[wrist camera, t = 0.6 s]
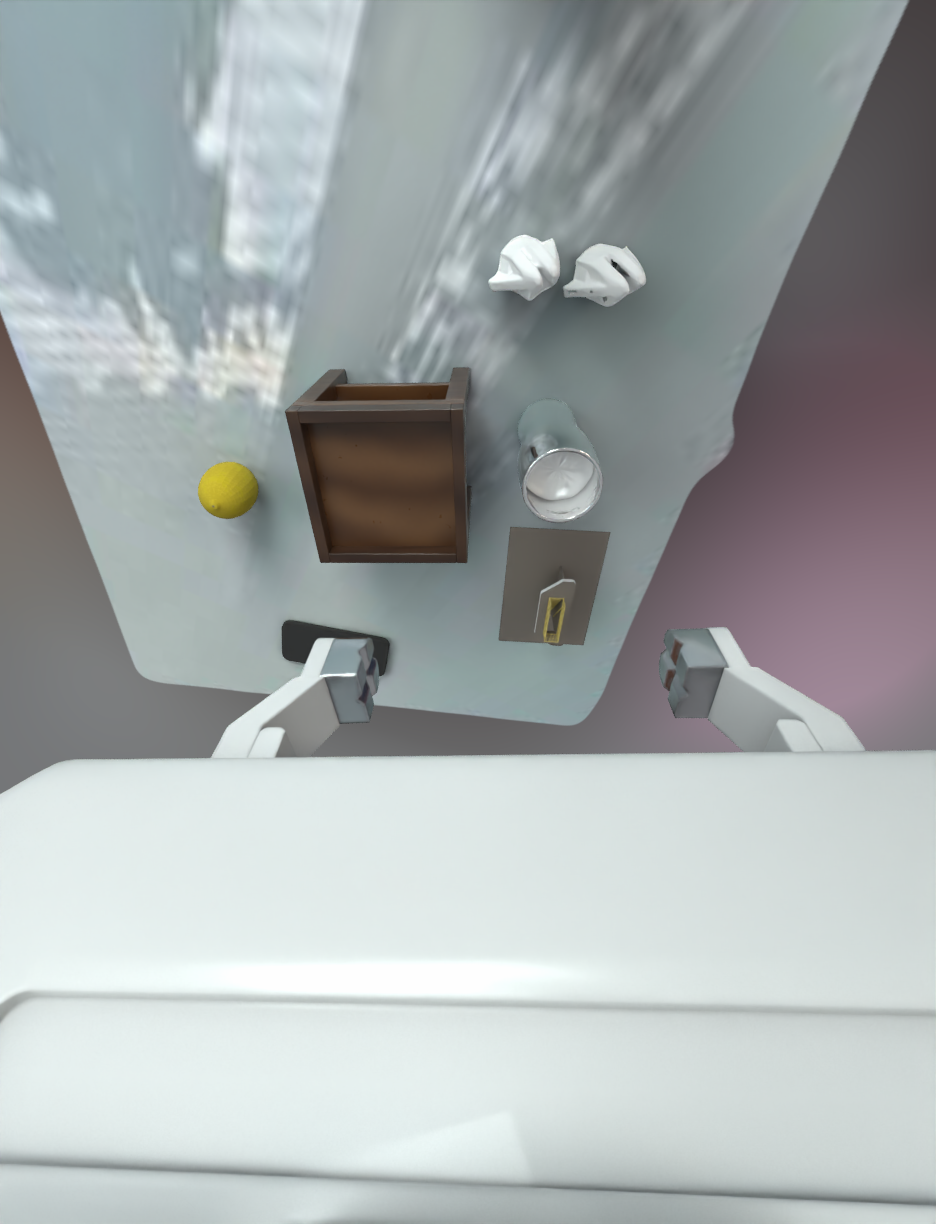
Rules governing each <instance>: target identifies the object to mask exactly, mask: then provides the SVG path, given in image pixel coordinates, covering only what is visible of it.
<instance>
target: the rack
mask: <svg viewBox="0 0 936 1224" xmlns="http://www.w3.org/2000/svg"><path fill="white" fill-rule="evenodd" d="M469 385H470V379H469V368H453V371H452V375H451V379H450V382H446V383H371V384H347V379H346V373H345V369H334V370H329V371H328V372H326V373H325V374H324V375H323V376H322V377H321V378H320V379H319V380H318V381H317V382H316V383H315V384H314V385H313V386H311V387H310V388H309V389H308V390H307V391H306V392H305V393H304V394H303V395H302V396H301V397H300V398H299V399H298V400H296V402H294V403H293V404H292V405H291V406H290V407H289V408H288V409H287V410H286V411H285V413H286V417H287V422H288V426H289V430H290V434H291V439H292V443H293V447H294V451H295V456H296V460H297V464H298V469H299V473H300V477H301V481H302V486H303V490H304V494H305V499H306V503H307V507H308V511H309V516H310V520H311V524H312V529H313V533H314V537H315V541H316V546H317V550H318V554H319V559H320V562H321V563H330V562H331V563H456V562H457V563H467V559H468V544H469V530H470V515H471V500H472V491H471V486H467V476H466V434H465V416H466V408H467V400H468V392H469Z"/></svg>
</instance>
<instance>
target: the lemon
mask: <svg viewBox="0 0 936 1224" xmlns="http://www.w3.org/2000/svg"><path fill="white" fill-rule="evenodd" d="M198 496H199V500H200V502H201V504H202V506H203V507H204V508H205V509H206V510H207V511H208V512H209V513H211V514H212V515H214V516H216V517H219V518H224V519H231V518H235V517H238V516H241V515H243V514H244V513H246V512H247V511H248V510H250V509H251V508H252V506H253V505H254V503H255V502H256V499H257V496H258V484H257V480H256V478H255V476H254V475H253V474H252V472H251V471H250V470H249V469H247V468H246V467H245V466H243V465H241V464H238V463H234V462H223V463H219V464H216V465H215V466H213V467H211V468H210V469H208V471H207V472H206V473H205V474H204V475H203V477H202V478H201V481H200V483H199V487H198Z"/></svg>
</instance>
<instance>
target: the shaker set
mask: <svg viewBox="0 0 936 1224" xmlns="http://www.w3.org/2000/svg"><path fill="white" fill-rule="evenodd" d="M611 259H613V262H617V264H618V265H617V270H616V269H615V268H613V266H614V265H613V264H612V262H611ZM611 264H612V265H613V266H612V265H611ZM614 267H615V266H614ZM559 275H560V262H559V255H558V252H557V249H556V245H555V242H554V239H549V240H547V241H544V242H540V241H539V240H538V239H536V238H532V237H530V236H528V235H521V236H518V237H515V238H513V239H512V240H511V241H510V242H509V243H508V244H507V245H506V246H505V248H504V249H503V250H502V251H501V254H500V262H499V268H498V271H497V273H496V275H495V276H494V277H492V278H491V279H490V280H489V285H490V289H491V290H492V291H493V292H496V291H499V290H512V291H513V292H515V293H518V294H520V295H521V296H522V297H524V298H525V299H527V300H533V299H534V298H535V297H536V296H538V295H539V294H540V293H542V292H543V291H545V290H546V289H548V288H550V287H552V286H553V285H554V284H556V282H557V280H558V278H559ZM645 283H646V276H645V273H644V270H643V268H642V266H641V264H640V263H639V261H638V260H637V258H636V257H635V256H634V255H633V253H632V252H631V251H630V250H629V249H628V247H627V246H626V247H625V248H623V249H621V248H619V247H615V246H610V245H605V244H597V245H594V246H591V247H590V248H588V249H587V250H586V251H585V252H583V254H582V255H581V256H580V257H579V258H578V259H577V260H576V268H575V273H574V279H573V280H572V281H571V282H570V283H569V284H567V285H565V286H564V287H563V289H564V291H563V292H564V296H565V297H566V298H567V297H568V298H569V297H587V299H590V300H592V301H595V302H596V303H598V304H601V305H603V306H606V307H611V306H612V305H614V304H616V303H617V302H619V301H620V300H621V299H623V298H624V297H625V296H626V295H628V294H630V293H632V292H634V291H636V290H637V289H639V288H640V287H642V286H643V285H644V284H645ZM571 290H572V291H573V290H575V291H577V292H570V293H568V291H571ZM591 290H592V291H591ZM573 293H574V294H573ZM569 294H570V296H569Z"/></svg>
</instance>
